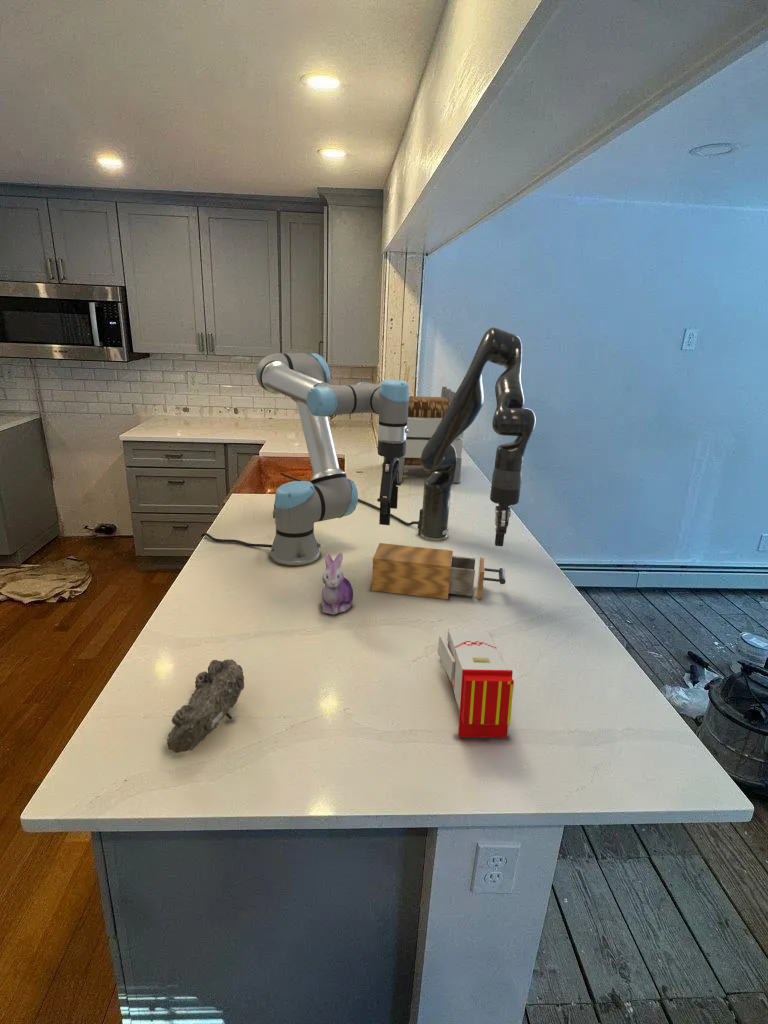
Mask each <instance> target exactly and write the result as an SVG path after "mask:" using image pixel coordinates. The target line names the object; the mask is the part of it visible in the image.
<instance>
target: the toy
mask: <svg viewBox="0 0 768 1024" xmlns="http://www.w3.org/2000/svg"><path fill="white" fill-rule="evenodd" d="M446 640H447V643H446V641H445V639H444V636H443V635H442V634H439V637H438V646H437V656H438V657H439V659H440V661H441V663H442V666H443V668H444V670H445V672H446V674H447V677H448V679H449V681H450V684H451V687H452V690H453V693H454V697H455V701H456V705H457V708H458V711H459V714H458V715H459V716H458V730H457V731H458V732H457V737H458V738H508V731H509V726H510V725H511V717H512V707H513V697H514V696H513V695H514V684H515V680H514V679H513V673H514V671H513V670H512V669H508V667H507V665H506V662H505V661H504V659H503V658H502V655H501V653H500V651H499V649H498V647H497V643H496V639H495V637H494V635H493V634H491V632H490V631H489V629H467V628H466V629H465V628H463V629H461V628H460V629H459V628H448V630H447V639H446Z"/></svg>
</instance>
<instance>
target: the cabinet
mask: <svg viewBox="0 0 768 1024" xmlns="http://www.w3.org/2000/svg"><path fill="white" fill-rule="evenodd" d="M452 556H454V550H452V549H451V550H450V549H441V548H431V547H422V546H411V545H403V544H393V543H383V542H380V543H379V544H378V546H377V548H376V550H375V552H374V554H373V556H372V574H371V591H373V592H383V593H390V594H391V593H392V594H398V595H406V596H407V595H408V596H416V597H423V598H433V599H442V600H449V594H450V593H449V583H450V572H451V563H452Z"/></svg>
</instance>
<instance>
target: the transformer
mask: <svg viewBox="0 0 768 1024" xmlns="http://www.w3.org/2000/svg"><path fill="white" fill-rule="evenodd" d="M440 393H441V394H440V396H415V395H414V396H413V395H412V396H411V395H409V406H408V421H407V428H406V429H409V433H407V435H406V440H405V442H406V454H405V456H403V457H400V458H399V479H400V480H399V482H401V483H402V482H403V475H404V469H405V466H406V467H407V466H411V467H412V466H413V467H415V466H416V467H417V466H418V467H422V465H421V454H422V451H423V449H424V447H425V446H426V444H427V443H428V441H429V440H430V438H431V437H432V435H433V434H434V432H435V431H436V429H437V427H438V426H439V424H440V422H441V420H442V418H443V416H444V415H445V413H446V411H447V409H448V407H449V405H450V403H451V401H452V399H453V397H454V395H455V393H456V392H455V391H453V390H452V389H451V388H447V386H442V387H441V392H440ZM463 438H464V432H463V433H462V434H460V435H459V436H458V437H457V438H456V439H455V440H454V441H453V442H452V445H453V446H454V448H455V450H456V455H457V462H456V470H455V477H454V482H453V484H455V483H456V484H459V483H461V472H462V461H463V460H462V453H463V442H464V441H463V440H462V439H463ZM385 460H386V458H385V457H383V462H384V461H385Z"/></svg>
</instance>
